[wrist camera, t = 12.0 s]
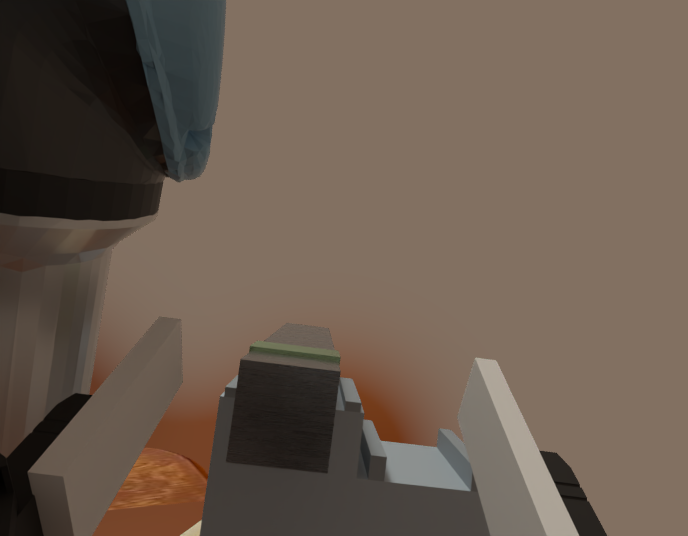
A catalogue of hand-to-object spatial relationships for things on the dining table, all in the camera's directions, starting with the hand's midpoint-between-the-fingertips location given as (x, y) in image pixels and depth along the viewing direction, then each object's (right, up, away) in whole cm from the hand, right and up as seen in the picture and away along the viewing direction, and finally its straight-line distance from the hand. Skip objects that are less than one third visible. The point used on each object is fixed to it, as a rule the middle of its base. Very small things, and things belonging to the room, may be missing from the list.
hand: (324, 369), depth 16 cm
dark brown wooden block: (-3, -5, +13) cm, 14 cm away
